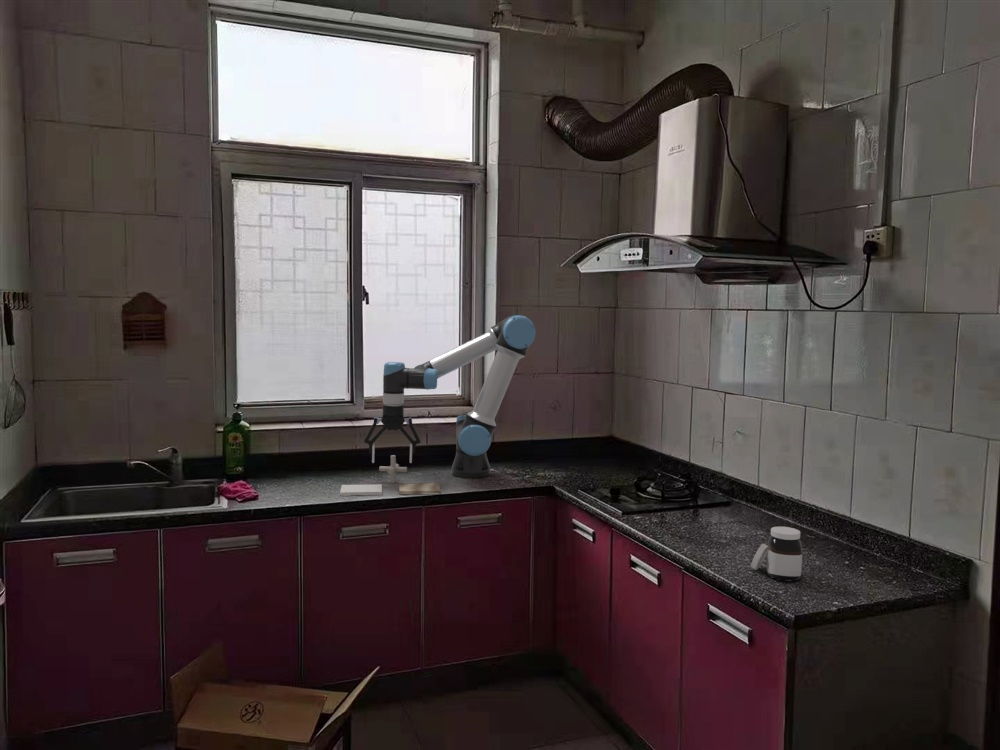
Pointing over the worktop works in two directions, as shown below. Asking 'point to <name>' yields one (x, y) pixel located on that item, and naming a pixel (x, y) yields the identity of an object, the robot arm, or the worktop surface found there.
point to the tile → (361, 489)
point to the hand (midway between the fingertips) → (392, 462)
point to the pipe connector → (393, 468)
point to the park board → (419, 488)
